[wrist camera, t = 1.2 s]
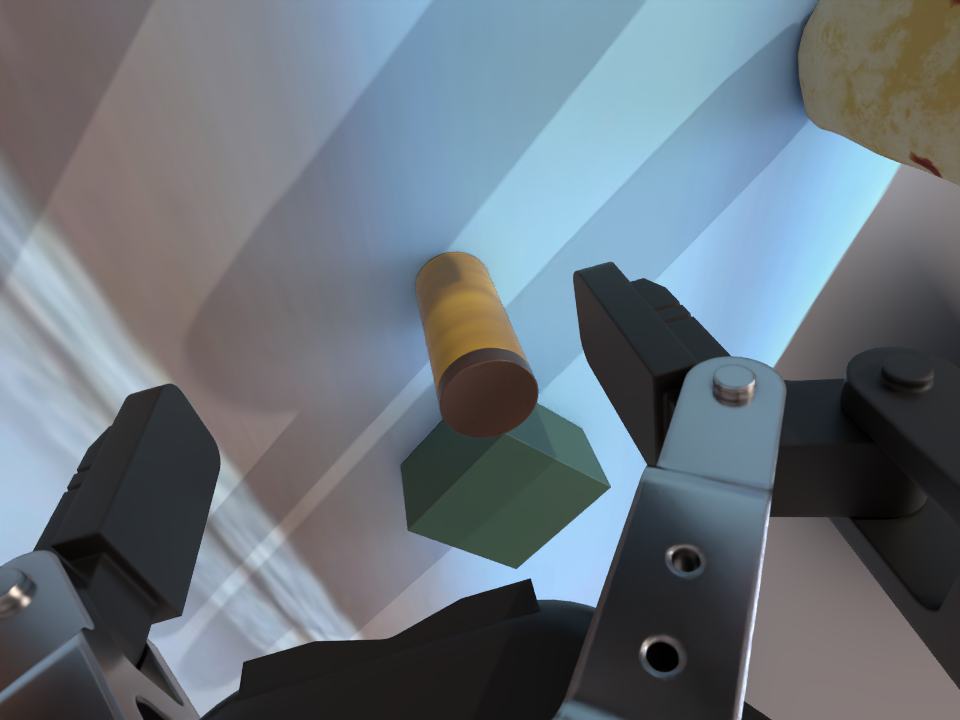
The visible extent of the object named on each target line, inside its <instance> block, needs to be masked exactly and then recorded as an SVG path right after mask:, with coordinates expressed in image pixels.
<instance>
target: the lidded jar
mask: <svg viewBox="0 0 960 720" xmlns="http://www.w3.org/2000/svg"><path fill="white" fill-rule="evenodd" d="M415 290H416V297H417V302H418V306H419V311H420V316H421V321H422V326H423V330H424V335H425V340H426V345H427V350H428V355H429V359H430V364H431V369H432V374H433V379H434V383H435V388H436V393H437V398H438V403H439V408H440V412H441V415H442V417H443V419H444V421H445V422H446V424H447V425H448V426H449V427H450V428H452V429H453V430H454V431H456V432H458V433H460V434H462V435H465V436H468V437H474V438H489V437H495V436H499V435H502V434H505V433H507V432H509V431H511V430H513V429H515V428H516V427H518V426H519V425H520V424H522V423H523V422H524V421H525V420H526V419H527V418H528V417H529V416H530V414H531V413H532V411H533V410H534V408H535V405H536V403H537V399H538V385H537V381H536V379H535V377H534V375H533V372H532V370H531V368H530V365H529V363H528V361H527V359H526V356H525V354H524V352H523V350H522V347H521V345H520V343H519V341H518V338H517V336H516V334H515V331H514V329H513V327H512V325H511V322H510V320H509V318H508V316H507V313H506V311H505V309H504V307H503V304H502V302H501V300H500V297H499V295H498V293H497V291H496V288H495V286H494V284H493V282H492V279H491V277H490V275H489V273H488V271H487V268H486V267H485V266H484V264H483V263H482V262H481V261H480V260H478V259H477V258H476V257H474V256H472V255H469V254H466V253H461V252H449V253H445V254H442V255H439V256H437V257H435V258H433V259H432V260H430V261H429V262H428V263H427V264H426V265H425V266H424V267H423V268H422V270H421V271H420V273H419V275H418V277H417V280H416V287H415Z"/></svg>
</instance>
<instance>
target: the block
mask: <svg viewBox="0 0 960 720" xmlns="http://www.w3.org/2000/svg"><path fill="white" fill-rule="evenodd" d="M401 474H402V483H403V492H404V501H405V510H406V519H407V528H408V531H411V532H413V533H416V534H419V535H422V536H425V537H427V538H430V539H433V540H436V541H439V542H442V543H444V544H447V545H450V546H453V547H456V548H458V549H461V550H464V551H467V552H470V553H473V554H475V555H478V556H481V557H484V558H487V559H489V560H492V561H495V562H498V563H501V564H504V565H506V566H509V567H512V568H515V569H517V568H518V567H519V566H520V565H522V564H523V563H524V562H525V561H526V560H527V559H529V558H530V557H531V556H532V555H533V554H534V553H535V552H537V551H538V550H539V549H540V548H541V547H542V546H544V545H545V544H546V543H547V542H548V541H549V540H550V539H552V538H553V537H554V536H555V535H556V534H557V533H559V532H560V531H561V530H562V529H563V528H564V527H566V526H567V525H568V524H569V523H570V522H571V521H572V520H574V519H575V518H576V517H577V516H578V515H579V514H581V513H582V512H583V511H584V510H585V509H586V508H587V507H589V506H590V505H591V504H592V503H593V502H594V501H596V500H597V499H598V498H599V497H600V496H601V495H603V494H604V493H605V492H606V491H607V490H608V489H609V488H611V486H610V484H609V482H608V480H607V478H606V476H605V474H604V472H603V470H602V468H601V466H600V464H599V462H598V460H597V458H596V456H595V454H594V452H593V450H592V447H591V445H590V443H589V441H588V439H587V437H586V435H585V433H584V431H583V429H582V428H580V427H578V426H576V425H575V424H573V423H571V422H569V421H568V420H566V419H564V418H562V417H560V416H559V415H557V414H555V413H553V412H552V411H550V410H548V409H546V408H545V407H543V406H541V405H539V404H537V403H536V405H535V408H534V410H533V411H532V413H531V414H530V416H529V417H528V418H527V419H526V420H525V421H524V422H523V423H522V424H520V425H519V426H518V427H516V428H515V429H513V430H511V431H509V432H507V433H505V434H502V435H499V436H495V437H489V438H474V437H468V436H465V435H462V434H460V433H458V432H456V431H454V430H453V429H452V428H450V427H449V426H448V425H447V424H446V422H445V421H444V419H443V420H442V421H441V423H440V424H439V425H438V426H437V427H436V428H435V429H434V430H433V431H432V432H431V433H430V434H429V435H428V437H427V438H426V439H425V440H424V441H423V442H422V443H421V444H420V445H419V446H418V447H417V448H416V449H415V451H414V452H413V453H412V454H411V455H410V456H409V457H408V458H407V459H406V460H405V461H404V462H403V463H402V465H401Z"/></svg>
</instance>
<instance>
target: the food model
mask: <svg viewBox="0 0 960 720" xmlns="http://www.w3.org/2000/svg"><path fill="white" fill-rule="evenodd" d="M798 69H799V80H800V85H801V91H802V96H803V101H804V106H805V110H806V114H807V116H808V118H809V119H810V120H811V121H812V122H813V123H814V124H815V125H816V126H817V127H819V128H821V129H823V130H827V131H831V132H834V133H836V134H839V135H841V136H844V137H846V138H848V139H849V140H851V141H853V142H855V143H857V144H859V145H861V146H863V147H865V148H867V149H869V150H871V151H872V152H874V153H876V154H879V155H881V156H884V157H886V158H889V159H891V160H894V161H896V162H899V163H902V164H905V165H909V166H911V167H915V168H917V169H920V170H923V171H925V172H928V173H930V174H933V175H935V176H938V177H941V178H943V179H945V180H948V181H950V182H952V183H955V184H957V185H959V186H960V0H819V2H818V4H817V5H816V7H815V9H814V11H813V13H812V15H811V16H810V18H809V20H808V22H807V24H806V25H805V27H804V30H803V34H802V38H801V43H800V47H799V51H798Z"/></svg>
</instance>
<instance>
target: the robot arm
mask: <svg viewBox="0 0 960 720" xmlns="http://www.w3.org/2000/svg"><path fill="white" fill-rule="evenodd" d="M573 283H574V291H575V299H576V307H577V315H578V322H579V330H580V338H581V343H582V347H583V350H584V353H585V356H586V359H587V361H588V364H589V366H590V367H591V369H592V371H593V373H594V374H595V376H596V378H597V379H598V381H599V383H600V385H601V386H602V388H603V390H604V391H605V393H606V395H607V397H608V398H609V400H610V402H611V403H612V405H613V407H614V409H615V410H616V412H617V414H618V415H619V417H620V419H621V421H622V422H623V424H624V426H625V427H626V429H627V431H628V433H629V434H630V436H631V438H632V439H633V441H634V443H635V445H636V446H637V448H638V450H639V451H640V453H641V455H642V457H643V458H644V460H645V462H646V463H647V466H646V468H645V469H644V471H643V474H642V476H641V479H640V481H639V484H638V487H637V490H636V493H635V496H634V499H633V502H632V505H631V508H630V511H629V513H628V516H627V519H626V522H625V525H624V528H623V531H622V534H621V537H620V540H619V543H618V545H617V548H616V551H615V554H614V557H613V560H612V563H611V566H610V569H609V572H608V575H607V577H606V580H605V583H604V586H603V589H602V592H601V595H600V598H599V601H598V604H597V607H596V608H594V607H591V606H589V605H584V604H580V603H575V602H571V601H561V600H537V599H536V595H535V592H534V588H533V585H532V581H531V578H530V579H527V580H523V581H520V582H517V583H513V584H510V585H506V586H503V587H499V588H496V589H492V590H489V591H486V592H482V593H479V594H475V595H472V596H468V597H465V598H462V599H459V600H458V601H456V602H454V603H452V604H451V605H449V606H447V607H445V608H444V609H442V610H440V611H438V612H436V613H435V614H433V615H431V616H429V617H428V618H426V619H424V620H422V621H421V622H419V623H417V624H415V625H413V626H412V627H410V628H408V629H406V630H405V631H403V632H401V633H399V634H397V635H396V636H393V637H391V638H388V639H381V640H346V641H314V642H311V643H307V644H304V645H300V646H297V647H294V648H290V649H287V650H283V651H280V652H276V653H273V654H270V655H266V656H263V657H259V658H256V659H252V660H249V661H246V662H243V668H242V675H241V681H240V688H239V690H238V691H236V692H234V693H233V694H231V695H230V696H229V697H227V698H226V699H224V700H223V701H221V702H220V703H219V704H217V705H216V706H215V707H213V708H212V709H211V710H210V711H209V712H208V713H206V714H205V715H204V716H203V717H202V718H201V717H200V716H199V714H198V713H197V711H196V710H195V708H194V706H193V705H192V703H191V702H190V700H189V698H188V697H187V695H186V693H185V692H184V690H183V689H182V687H181V685H180V684H179V682H178V681H177V679H176V677H175V676H174V674H173V673H172V671H171V669H170V668H169V666H168V665H167V663H166V661H165V660H164V658H163V657H162V655H161V653H160V652H159V650H158V649H157V647H156V646H155V645H154V644H153V643H152V642H151V641H150V640H149V639H148V638H147V637H148V634H149V631H150V627H151V624H155V623H158V622H162V621H165V620H169V619H172V618H176V617H179V616H182V613H183V609H184V605H185V601H186V598H187V594H188V590H189V586H190V582H191V578H192V575H193V571H194V567H195V563H196V559H197V555H198V552H199V548H200V544H201V540H202V536H203V532H204V529H205V525H206V521H207V517H208V513H209V509H210V505H211V502H212V498H213V494H214V490H215V486H216V482H217V479H218V475H219V471H220V454H219V450H218V447H217V444H216V442H215V440H214V438H213V437H212V435H211V434H210V432H209V431H208V429H207V428H206V426H205V425H204V423H203V422H202V421H201V419H200V418H199V416H198V415H197V413H196V412H195V410H194V409H193V407H192V406H191V404H190V403H189V401H188V400H187V398H186V397H185V396H184V394H183V393H182V391H181V390H180V389H179V388H178V387H177V386H175V385H173V384H165V385H162V386H158V387H154V388H151V389H147V390H144V391H140V392H136V393H133V394H130V395H129V396H127V398H126V399H125V401H124V403H123V405H122V407H121V409H120V411H119V413H118V415H117V417H116V419H115V420H114V422H113V424H112V426H109V427H108V428H107V429H106V430H105V432H104V433H103V434H102V435H101V436H100V437H99V438H98V439H97V440H96V441H95V442H94V443H93V444H92V445H91V446H90V447H89V448H88V450H87V452H86V454H85V456H84V457H83V459H82V461H81V463H80V465H79V467H78V468H77V471H78V473H77V474H74V476H73V478H72V480H71V481H70V483H69V485H68V487H67V489H68V492H65V493H64V494H63V496H62V498H61V500H60V502H59V504H58V505H57V507H56V509H55V511H54V513H53V515H52V517H51V518H50V520H49V522H48V524H47V526H46V528H45V530H44V531H43V533H42V535H41V537H40V539H39V541H38V542H37V544H36V546H35V548H34V550H33V552H30V553H27V554H24V555H21V556H19V557H17V558H14V559H13V560H11V561H9V562H7V563H5V564H4V565H2V566H1V567H0V720H771V719H770V718H768V717H767V716H765V715H764V714H762V713H761V712H759V711H758V710H756V709H755V708H753V707H752V706H750V705H749V704H747V703H746V702H745V701H744V695H745V689H746V682H747V674H748V667H749V659H750V653H751V644H752V638H753V631H754V623H755V617H756V609H757V602H758V595H759V588H760V581H761V573H762V565H763V559H764V552H765V544H766V537H767V530H768V523H769V517H828V518H829V519H830V520H831V521H832V523H833V524H834V525H835V527H836V528H837V529H838V530H839V532H840V533H841V535H842V536H843V537H844V539H845V540H846V541H847V542H848V544H849V545H850V546H851V547H852V549H853V550H854V552H855V553H856V554H857V556H858V557H859V558H860V559H861V561H862V562H863V563H864V565H865V566H866V567H867V569H868V570H869V571H870V573H871V574H872V575H873V576H874V578H875V579H876V580H877V582H878V583H879V584H880V586H881V587H882V588H883V590H884V591H885V592H886V594H887V595H888V596H889V598H890V599H891V600H892V601H893V603H894V604H895V605H896V607H897V608H898V609H899V611H900V612H901V613H902V615H903V616H904V617H905V619H906V620H907V621H908V622H909V624H910V625H911V626H912V628H913V629H914V630H915V632H916V633H917V634H918V636H919V637H920V638H921V639H922V641H923V642H924V643H925V645H926V646H927V647H928V649H929V650H930V651H931V653H932V654H933V655H934V657H935V658H936V659H937V660H938V662H939V663H940V664H941V666H942V667H943V668H944V670H945V671H946V672H947V674H948V675H949V676H950V678H951V679H952V680H953V681H954V683H955V684H956V685H957V687H958V688H959V689H960V369H959V368H958V367H956V366H955V365H953V364H952V363H950V362H949V361H947V360H945V359H943V358H941V357H939V356H937V355H934V354H931V353H928V352H925V351H921V350H916V349H911V348H903V347H881V348H875V349H870V350H867V351H864V352H862V353H860V354H858V355H856V356H855V357H853V358H852V360H851V361H850V362H849V363H848V366H847V369H846V374H845V378H844V379H826V380H806V381H789V380H783V378H782V376H781V375H780V374H779V373H778V372H777V371H776V370H774V369H773V368H772V367H770V366H768V365H766V364H764V363H762V362H759V361H757V360H753V359H749V358H744V357H733V356H730V354H729V353H728V352H727V351H726V350H725V349H724V348H723V347H722V346H721V345H720V344H719V343H718V342H717V341H716V340H715V339H714V338H713V337H712V336H711V335H710V334H709V332H708V331H707V330H706V329H705V328H704V327H703V326H702V325H701V324H700V323H699V322H698V321H697V320H696V319H695V318H694V317H691V314H690V313H689V312H688V310H687V309H686V308H685V307H684V306H683V305H680V303H679V301H678V300H677V299H676V298H675V297H674V296H673V295H672V294H671V293H670V292H669V291H668V290H667V288H665V287H663V286H661V285H658V284H656V283H654V282H651V281H649V280H647V279H644V278H643V279H639V280H635V281H632V282H630V281H629V280H628V279H627V278H626V277H625V276H624V274H623V273H622V272H621V271H620V270H619V269H618V267H617V266H616V265H615V264H614V263H613V262H607V263H603V264H600V265H596V266H593V267H589V268H585V269H582V270H578V271H575V272H574V275H573Z"/></svg>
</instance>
